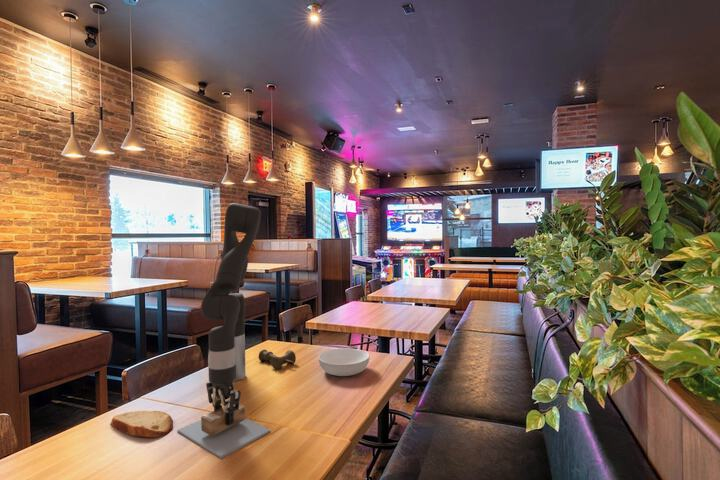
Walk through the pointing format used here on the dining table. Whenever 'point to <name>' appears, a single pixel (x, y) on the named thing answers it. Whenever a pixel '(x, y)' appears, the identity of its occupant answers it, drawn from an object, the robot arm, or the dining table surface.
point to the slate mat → (225, 436)
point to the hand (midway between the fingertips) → (223, 421)
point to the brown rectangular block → (220, 420)
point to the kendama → (277, 358)
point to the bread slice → (143, 423)
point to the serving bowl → (344, 361)
